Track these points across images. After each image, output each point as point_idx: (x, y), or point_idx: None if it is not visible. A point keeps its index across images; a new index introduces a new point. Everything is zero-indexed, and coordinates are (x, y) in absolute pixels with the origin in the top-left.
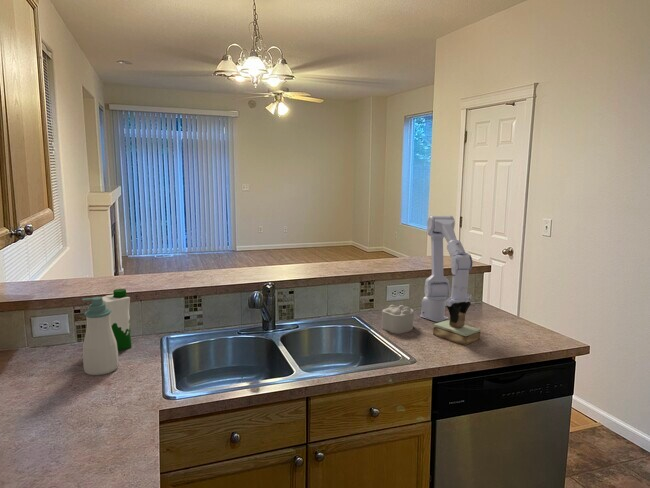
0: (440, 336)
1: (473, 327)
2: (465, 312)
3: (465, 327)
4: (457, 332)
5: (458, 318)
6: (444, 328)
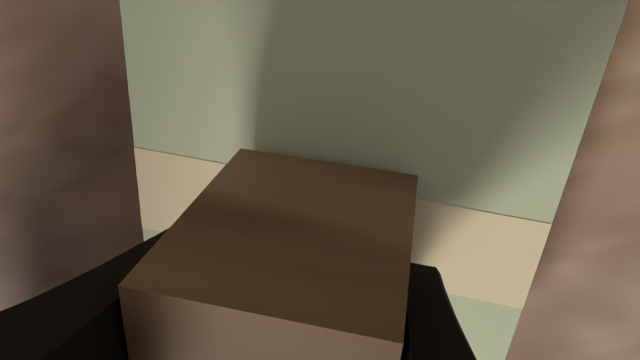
0: None
1: (137, 23)
2: (78, 299)
3: (249, 118)
4: (583, 118)
5: (402, 297)
6: (510, 325)
